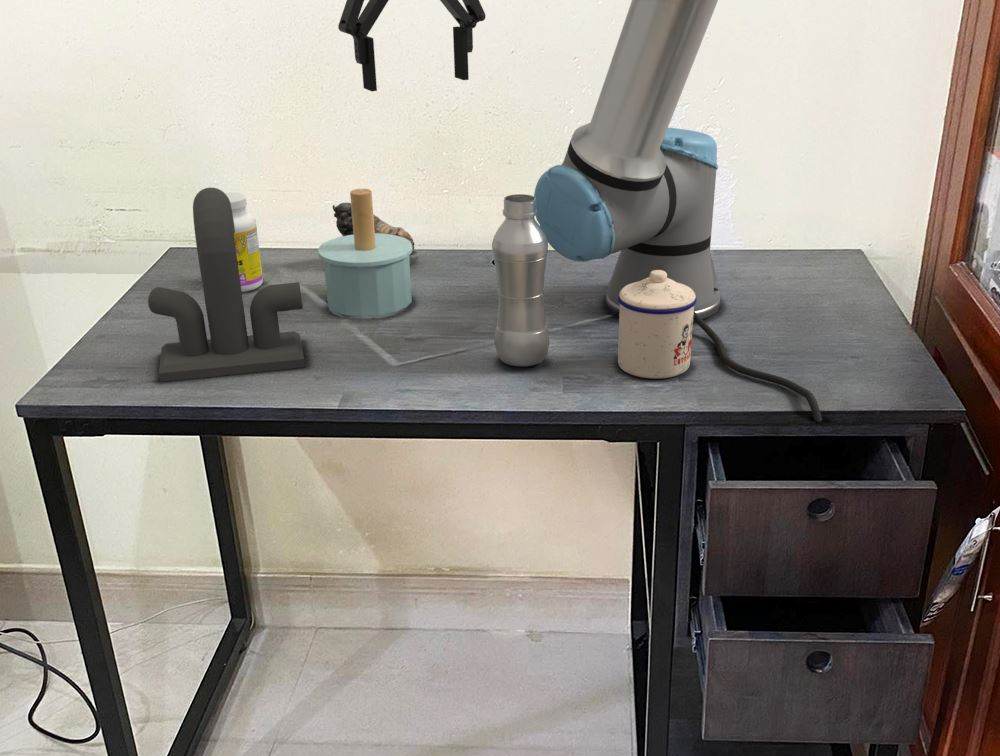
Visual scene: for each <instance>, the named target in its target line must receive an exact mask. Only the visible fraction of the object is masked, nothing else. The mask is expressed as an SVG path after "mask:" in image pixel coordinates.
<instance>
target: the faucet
mask: <svg viewBox="0 0 1000 756" xmlns="http://www.w3.org/2000/svg"><path fill="white" fill-rule="evenodd" d="M225 193H226V192H224V191H223V190H221V189H219V188H217V187H205V188H203V189H201V190H199V191H198V192H197V193H196V194H195V196H194V199H193V201H192V217H193V227H194V237H195V245H196V252H197V258H198V265H199V272H200V279H201V286H202V291H203V297H204V304H205V309H206V317H207V324H208V330H209V336H210V339H208V337H207V335H208V334H207V329H206V323H205V317H204V313H203V310H202V307H201V306H200V305H199V303H198V301H197V300H196V299H195V298H194V297H192V296H191V295H190V294H188V293H187V292H184V291H181V290H177V289H171V288H167V287H162V286H156V287H154V288H153V289H152V290H151V291H150V293H149V294H148V299H147V305H148V308H149V310H150V312H152V313H153V314H155V315H159V316H165V317H171V318H174V319H175V322H176V323H175V324H176V327H177V335H178V340H179V341H178V342H169V343H165V344H163V345H161V348H160V349H161V350H160V358H159V366H158V367H159V369H158V377H159V381H160V383H163V382H173V381H182V380H183V381H184V380H193V379H194V380H195V379H203V378H213V377H222V376H223V377H224V376H232V375H243V374H251V373H252V374H254V373H262V372H271V371H273V372H274V371H280V370H291V369H292V370H293V369H303V368H306V363H305V355H304V350H303V345H302V338H301V334H300V333H299V332H297V331H294V330H293V331H283V332H281V330H280V324H279V315H278V313H281V312H288V311H298V310H304V306H303V299H302V291H301V284H300V282H299V281H296V282H286V283H275V284H270V285H267V286H265V287H263V288H261V289H259V290H258V291H257V292H256V293H255V294H254V296H253V297H252V299H251V302H250V306H249V315H250V323H251V329H252V330H251V331H252V334H251V335H248V328H247V320H246V314H245V307H244V301H243V299H244V298H243V292H242V291H241V284H240V277H239V270H238V262H237V255H236V248H235V240H234V233H235V227H234V220H233V214H232V208H231V203H230V200H229V198H228V197H227V195H226V194H225Z"/></svg>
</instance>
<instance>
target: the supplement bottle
mask: <svg viewBox="0 0 1000 756" xmlns="http://www.w3.org/2000/svg"><path fill="white" fill-rule="evenodd" d="M224 193H225V194H226V195H227V197H228V198H229V200H230V203H231V208H232V214H233V220H234V227H235V233H234V240H235V248H236V255H237V262H238V270H239V277H240V284H241V291H242V293H246V292H250V291H251V292H252V291H254V290H256V289H259V287H260V286H262V284H263V282H264V277H263V269H262V268H263V267H262V261H261V260H262V259H261V251H260V245H259V244H260V243H259V236H258V235H259V234H258V226H257V221H256V218H255V216H254V215H253V214H252V213H251V212H249V211H247V209H246V208H247V205H248V202H247V196H246V194H243V193H239V192H224Z"/></svg>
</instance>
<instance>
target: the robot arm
mask: <svg viewBox="0 0 1000 756" xmlns="http://www.w3.org/2000/svg"><path fill="white" fill-rule="evenodd" d="M389 1H390V0H368V2H367V3H366V5H365V7H364V8H363V5H364V2H365V0H346V2H345V4H344V8H343V11H342V13H341V16H340V19H339V23H338V24H337V29H338V30H339V32H341V33H344V34H347V35H350V36H351V38H352V39H353V49H354V59H355V62H356V64H359V65H361V70H362V71H361V72H362V84H363V85H362V86H363V89H364V90H367V91H370V92H377V91H378V86H377V71H376V56H375V44H374V37H371V36H368V35H369V33H370V32H371V30H372V28H373V27H374V25H375V24H376V22H377V20H378V19H379V17H380V15H381V14H382V12H383V10H384V9H385V7H386V6H387V4H388V2H389ZM439 1H440V2H441V3H442V5H443V6H444V7H445V9H446V10H447V12H448V13H449V14H450V15H451V16H452V17H453V19H454V20H455V21H456V23H458V25H459V26H452V39H453V64H454V67H453V68H454V78H455V79H459V80H461V81H469V80H470V78H469V75H470V74H469V53H473V49H474V34H473V31H474V30H473V29H474V28H476V26H477V24H478V23H479V22H484V21H485V20H486V12H485V10H484V8H483V6H482V3H481V1H480V0H461V1H462V3H463V5H464V6H463V5H462V3H461V2H460V0H439ZM718 2H719V0H631V2H630V5H629V7H628V9H627V10H628V11H627V13H626V17H625V20H624V22H623V25H622V29H621V31H620V34H619V37H618V40H617V43H616V46H615V49H614V52H613V55H612V57H611V60H610V64H609V67H608V70H607V73H606V75H605V77H604V82H603V85H602V87H601V90H600V93H599V96H598V99H597V102H596V105H595V108H594V111H593V114H592V117H591V119H590V122H588V123H586V124H583V125H580V126H579V127H577V128H576V129H575V130H574V131H573V133H572V135H571V138H570V141H569V144H568V147H567V149H566V153H565V156H564V159H563V162H562V163H561V164H556V165H553V166H552V167H549V168H548V169H547V170H546V171H544V172H543V173H542V174H541V176H540V177H539V178H538V180H537V182H536V184H535V188H534V192H533V196H534V197H535V198H536V209H537V215H536V216H535V220H536V222H537V223H538V224H539V226H540V227H541V229H542V230H543V232H544V234H545V235H546V238H547V241H548V245H550V247H551V248H552V249H553V250H555V252H557V253H558V254H559V255H561V256H562V257H564V258H565V259H567V260H570V261H573V262H578V263H585V262H590V261H593V260H599V259H600V260H601V259H605V258H607V257H608V256H610V255H613V254H615V253H618V252H619V254H618V257H617V260H616V263H615V265H614V269H613V272H612V275H611V278H610V281H609V282H608V284H607V288H606V294H605V295H606V297H605V302H606V305H607V306H608V308H610V309H611V310H613V311H614V314H616V315H617V316H619V314H620V303H619V301H618V296H619V293H620V291H621V290H622V289H623V288H624V287H625V286H627V285H629V284H631V283H634V282H638V281H641V280H643V279H646V278H649V277H650V273H651V272H652V271H654V270H663V271H665V272H666V273H667V278H669V279H671V280H673V281H675V282H677V283H681V284H684V285H686V286H688V287H690V288H691V289H692V290H693V291H694V293H695V295H696V299H697V301H696V304H695V305H694V314H693V323H694V322H695V323H696V324H697V325H698V326H699V327H700V329H702V331H703V332H704V333H706V335H707V336H708V337H709V338H710V339H711V340H712V342H713V343H714V345H715V347H716V349H717V353H718V356H719V359H720V360H721V361H722V363H724V364H725V366H727V367H728V368H730V369H731V370H733V371H735V372H737V373H738V374H739V373H740V374H742V375H745V376H747V377H750V378H754V379H758V380H763V381H766V382H770V383H773V384H777V385H780V386H782V387H785V388H787V389H789V390H791V391H793V392H794V393H797V394H798V395H800V396H802V397H803V398H805V399H806V401H807V403H808V405H809V406H808V407H809V409H810V411H811V414H812V418H813V421H815V422H822V421H823V416H822V413H821V410H820V407H819V404H818V401H817V399H816V397H815V396H814V394H813V393H812V392H811V391H810V390H809V389H807V388H806V387H803V386H801V385H800V384H797V383H796V382H794V381H792V380H790V379H787V378H785V377H782V376H780V375H779V376H778V375H776V374H772V373H768V372H764V371H760V370H756V369H752V368H750V367H746V366H744V365H741V364H739V363H738V362H736V361H734V360H732V359H731V358H730V357H729V356H728V354H727V353H726V349H725V345H724V343H723V341H722V340H721V338H720V336H719V335H718V334H717V333H716V331H714V330H713V329H712V328H711V327H710V326H709V325H708V324H707V322H706V321H705V319H706V318H709V317H712V316H713V315H715V314H716V313H717V312H718V311H719V310H720V306H721V289H720V285H719V281H718V276H717V273H716V268H715V264H714V261H713V257H712V252H711V243H712V242H711V241H712V232H713V231H712V229H713V218H714V217H713V216H714V206H715V193H716V192H715V191H716V182H717V181H716V179H717V178H716V177H717V171H718V169H719V165H718V145H717V142H716V140H715V139H714V138H713V137H712V136H711V135H709V134H708V133H707V134H706V133H704V132H701V131H695V130H691V129H685V128H678V127H677V128H676V127H669V126H670V123H671V121H672V118H673V116H674V113H675V111H676V108H677V106H678V103H679V101H680V98H681V95H682V93H683V90H684V89H685V86H686V83H687V80H688V78H689V75H690V72H691V70H692V68H693V65H694V62H695V60H696V58H697V55H698V52H699V50H700V47H701V44H702V42H703V39H704V37H705V35H706V32H707V29H708V27H709V24H710V21H711V19H712V17H713V14H714V12H715V9H716V8H717V7H716V6H717V4H718ZM362 8H363V9H362ZM361 11H362V12H361Z"/></svg>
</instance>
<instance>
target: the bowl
mask: <svg viewBox="0 0 1000 756" xmlns="http://www.w3.org/2000/svg"><path fill="white" fill-rule="evenodd" d="M323 269H324V278H325V280H324V281H325V287H326V300H327V307H328V310H329V312H331V314H333V315H335V316H337V317H339V318H343V319H346V317H345V316H353V317H377V316H383V315H389V314H393V313H396V312H398V311H399V312H400V311H401V310H403V309H406V308H407V307H408V306H409V305H410V304H412V302H413V298H412V281H411V279H412V278H411V264H410V262H409V256H407V257H406V258H404V259H402V260H399V261H396V262H393V263H389V264H384V265H378V266H368V267H348V266H339V265H334V264H330V263H327V262H325V261H323Z"/></svg>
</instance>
